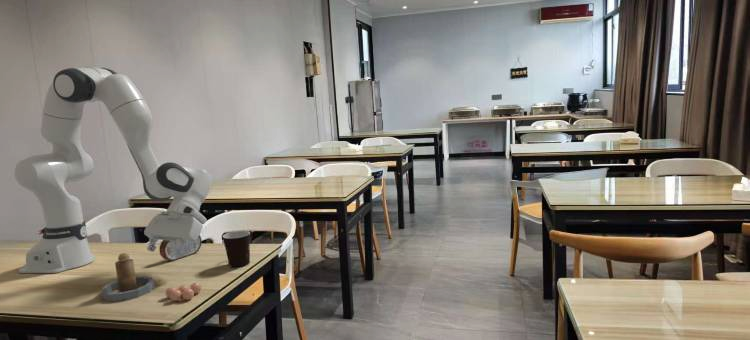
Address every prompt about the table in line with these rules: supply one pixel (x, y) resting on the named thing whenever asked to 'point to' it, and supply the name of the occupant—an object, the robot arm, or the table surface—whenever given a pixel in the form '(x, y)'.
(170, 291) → the bead pile
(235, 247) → the coffee mug
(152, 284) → the ring
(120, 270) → the pepper mill
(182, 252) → the tin
